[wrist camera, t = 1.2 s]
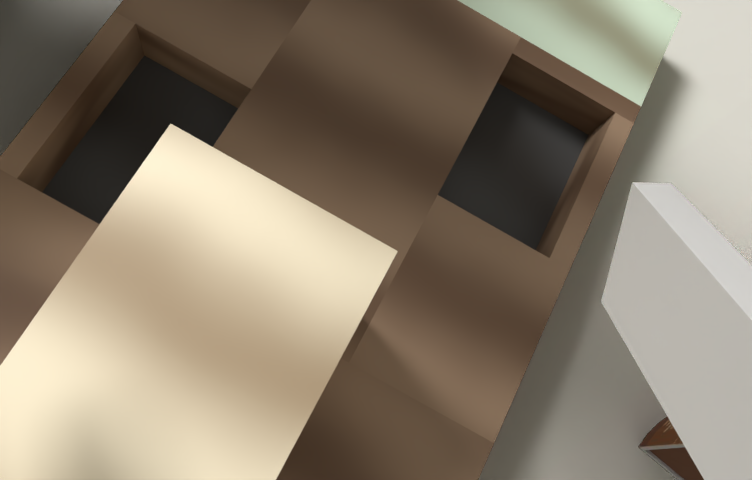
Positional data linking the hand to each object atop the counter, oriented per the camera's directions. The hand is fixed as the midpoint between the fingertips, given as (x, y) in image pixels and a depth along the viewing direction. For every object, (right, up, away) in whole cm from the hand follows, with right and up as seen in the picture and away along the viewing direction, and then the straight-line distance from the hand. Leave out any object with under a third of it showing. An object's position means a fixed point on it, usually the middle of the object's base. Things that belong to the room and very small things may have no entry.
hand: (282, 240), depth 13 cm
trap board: (-1, +3, +19) cm, 19 cm away
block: (-5, -5, +13) cm, 14 cm away
